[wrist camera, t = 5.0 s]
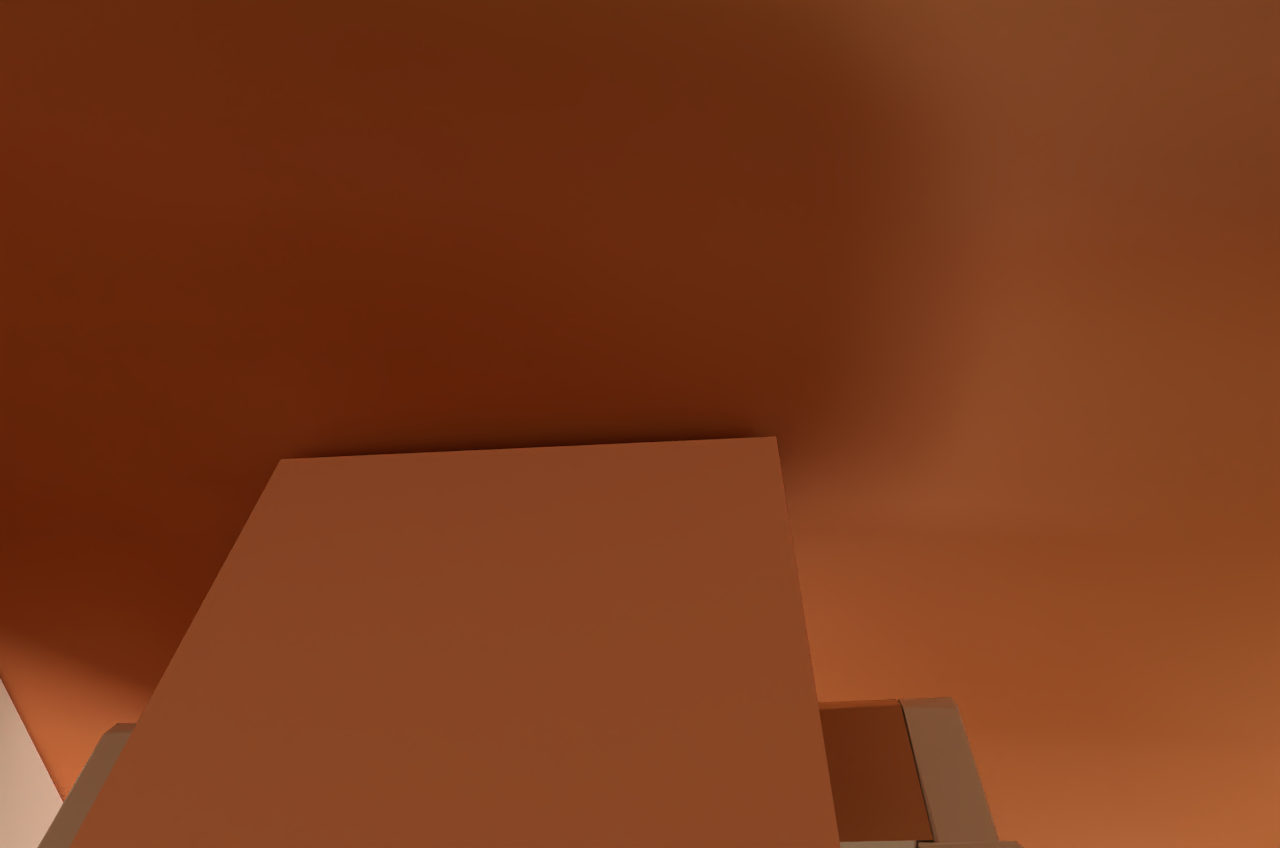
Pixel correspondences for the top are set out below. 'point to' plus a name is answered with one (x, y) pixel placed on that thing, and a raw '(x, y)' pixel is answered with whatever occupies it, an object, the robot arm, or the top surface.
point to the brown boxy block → (492, 662)
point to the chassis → (22, 783)
